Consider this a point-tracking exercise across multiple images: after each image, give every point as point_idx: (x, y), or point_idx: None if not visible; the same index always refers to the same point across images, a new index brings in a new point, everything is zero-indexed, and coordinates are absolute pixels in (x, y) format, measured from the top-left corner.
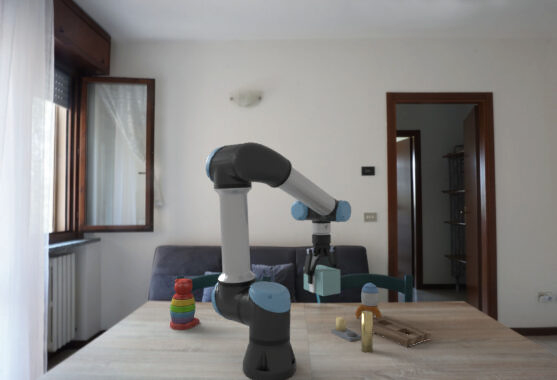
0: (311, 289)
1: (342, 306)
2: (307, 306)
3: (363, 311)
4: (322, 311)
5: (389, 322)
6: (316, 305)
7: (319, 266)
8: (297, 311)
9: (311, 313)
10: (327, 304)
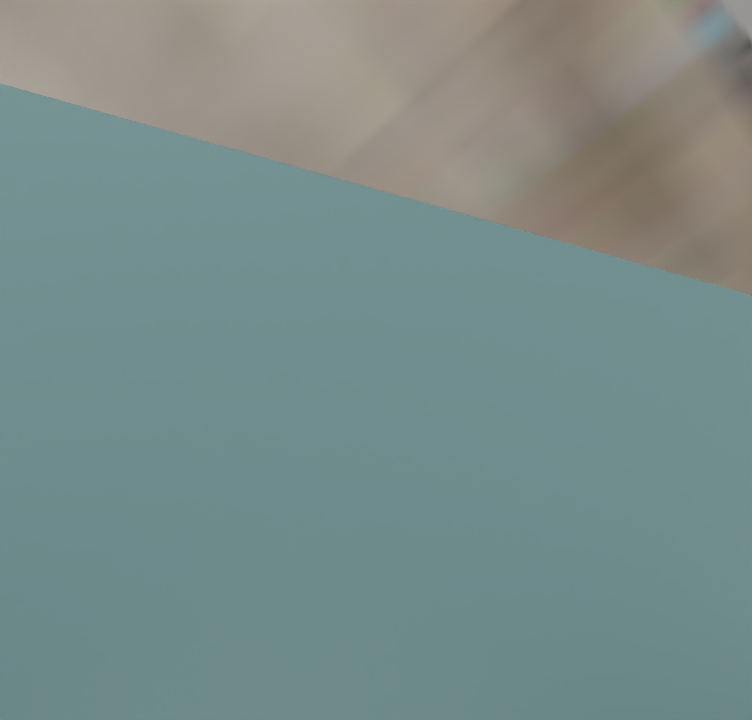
0: None
1: (734, 260)
2: (557, 13)
3: None
4: (519, 222)
5: None
6: (636, 63)
7: (615, 667)
8: (369, 48)
9: (414, 188)
10: (720, 125)
